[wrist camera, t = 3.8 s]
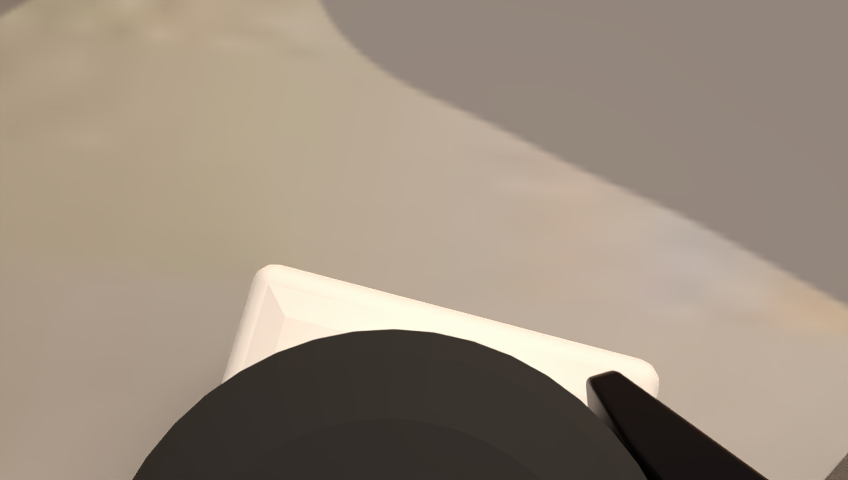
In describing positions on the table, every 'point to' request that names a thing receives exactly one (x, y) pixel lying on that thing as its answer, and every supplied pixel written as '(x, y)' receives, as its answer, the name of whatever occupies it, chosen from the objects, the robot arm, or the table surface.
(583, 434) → the medicine bottle
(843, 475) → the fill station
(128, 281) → the table surface
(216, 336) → the table surface
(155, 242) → the table surface
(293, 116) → the table surface
